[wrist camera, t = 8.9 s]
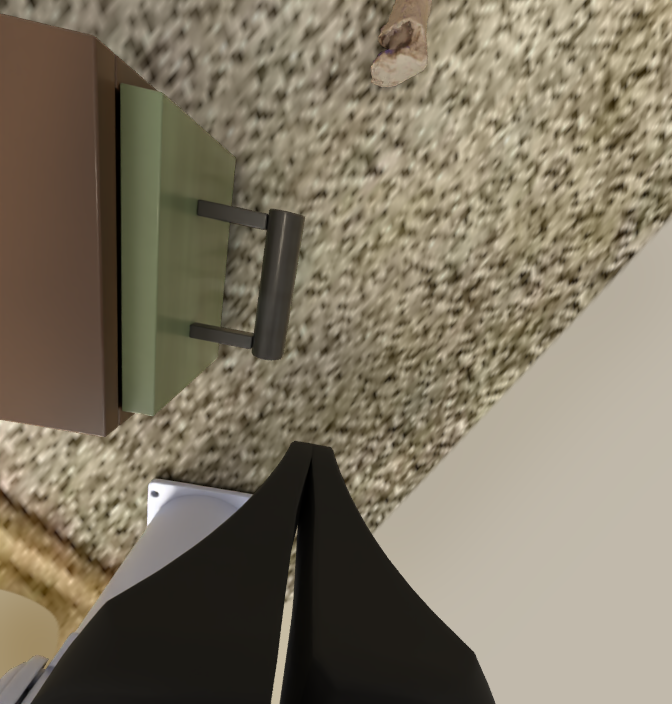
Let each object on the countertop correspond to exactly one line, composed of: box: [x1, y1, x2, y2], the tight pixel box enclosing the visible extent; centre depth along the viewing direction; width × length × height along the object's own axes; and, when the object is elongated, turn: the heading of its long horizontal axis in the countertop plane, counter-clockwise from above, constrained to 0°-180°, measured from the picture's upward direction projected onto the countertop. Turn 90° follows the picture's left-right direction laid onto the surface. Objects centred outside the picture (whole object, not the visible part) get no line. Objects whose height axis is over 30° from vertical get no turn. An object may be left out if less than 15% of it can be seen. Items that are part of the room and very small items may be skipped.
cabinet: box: [0, 14, 157, 437], centre depth 13 cm, size 14×12×9 cm
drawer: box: [115, 83, 305, 416], centre depth 14 cm, size 17×10×7 cm, turn 79°
